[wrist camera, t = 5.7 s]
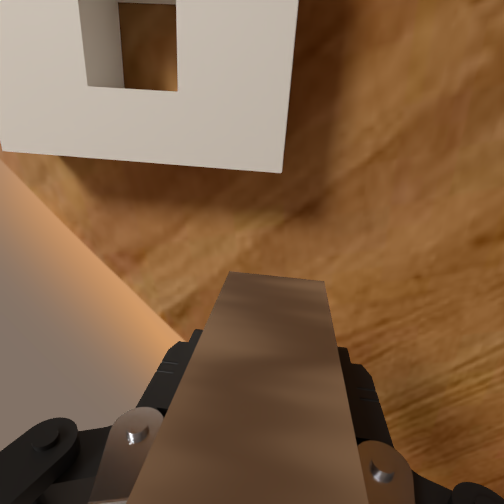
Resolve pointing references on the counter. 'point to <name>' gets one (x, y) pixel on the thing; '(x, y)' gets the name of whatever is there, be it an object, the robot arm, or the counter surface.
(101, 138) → the socket board
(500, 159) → the counter surface
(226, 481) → the peg
